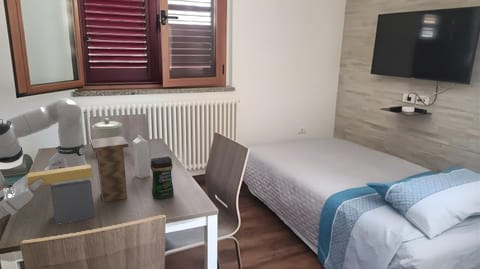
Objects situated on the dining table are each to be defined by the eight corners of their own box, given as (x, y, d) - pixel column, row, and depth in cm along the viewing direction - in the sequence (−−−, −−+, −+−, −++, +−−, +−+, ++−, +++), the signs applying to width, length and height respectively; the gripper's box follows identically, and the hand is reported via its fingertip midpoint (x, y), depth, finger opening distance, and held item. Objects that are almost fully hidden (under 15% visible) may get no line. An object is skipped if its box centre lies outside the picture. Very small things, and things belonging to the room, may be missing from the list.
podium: (56, 224, 134) (50, 190, 130) (55, 213, 142) (50, 181, 139) (94, 216, 140) (91, 183, 136) (92, 206, 149) (88, 175, 145)
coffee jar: (155, 201, 154) (152, 162, 149) (150, 194, 161) (148, 156, 156) (176, 197, 159) (174, 158, 154) (170, 190, 165) (168, 153, 160)
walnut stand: (99, 205, 150) (93, 147, 143) (95, 193, 162) (90, 139, 155) (132, 198, 157) (128, 143, 150) (126, 187, 168) (122, 135, 162)
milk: (139, 178, 180) (136, 137, 174) (135, 175, 184) (131, 135, 178) (150, 175, 183) (147, 135, 177) (146, 172, 188) (143, 133, 182)
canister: (99, 146, 234) (95, 115, 229) (126, 145, 236) (124, 115, 231) (90, 154, 217) (87, 121, 211) (120, 153, 219) (117, 121, 213)
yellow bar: (28, 187, 129) (27, 177, 128) (29, 182, 133) (27, 173, 132) (92, 177, 139) (91, 167, 138) (91, 173, 143) (90, 164, 142)
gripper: (16, 195, 139) (48, 173, 143) (12, 217, 121) (48, 192, 125) (5, 183, 136) (37, 162, 140) (-2, 204, 119) (36, 180, 122)
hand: (42, 176), depth 132 cm, fingers closed on yellow bar, 4 cm apart
